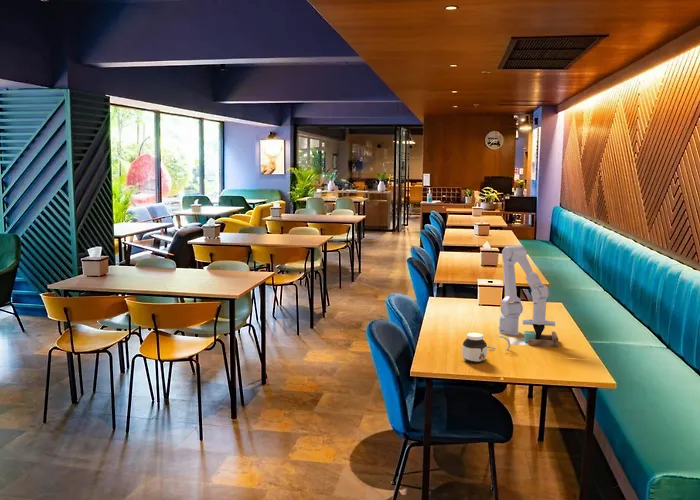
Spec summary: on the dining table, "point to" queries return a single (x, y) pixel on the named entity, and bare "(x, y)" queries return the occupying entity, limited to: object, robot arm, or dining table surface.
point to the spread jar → (474, 348)
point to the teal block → (529, 336)
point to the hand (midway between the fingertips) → (537, 340)
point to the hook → (504, 338)
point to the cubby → (537, 340)
